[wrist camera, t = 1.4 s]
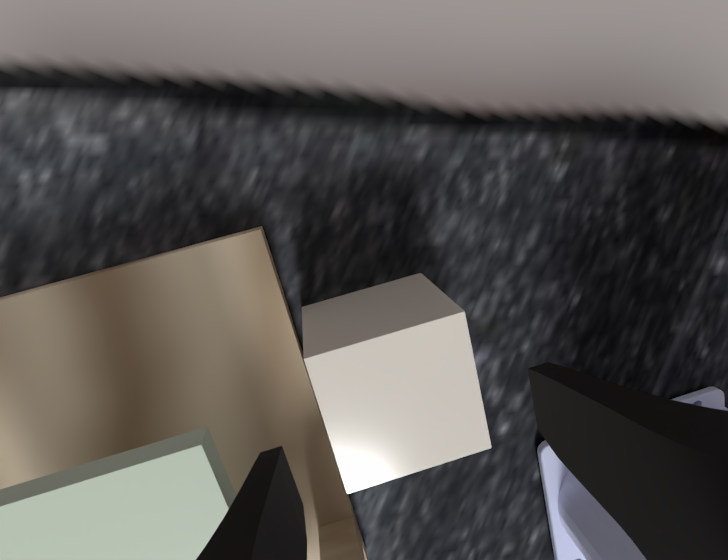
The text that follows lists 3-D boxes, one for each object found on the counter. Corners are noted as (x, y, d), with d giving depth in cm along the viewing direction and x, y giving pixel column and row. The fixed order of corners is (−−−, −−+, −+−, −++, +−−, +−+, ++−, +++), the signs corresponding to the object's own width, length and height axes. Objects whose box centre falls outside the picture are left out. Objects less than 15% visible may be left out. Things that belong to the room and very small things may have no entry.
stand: (262, 226, 17) (237, 274, 9) (365, 548, 21) (401, 747, 14) (-128, 332, 16) (-489, 477, 8) (69, 647, 20) (-56, 917, 13)
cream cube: (420, 272, 18) (464, 311, 13) (443, 378, 20) (491, 448, 15) (301, 306, 18) (303, 359, 13) (334, 411, 19) (347, 494, 14)
